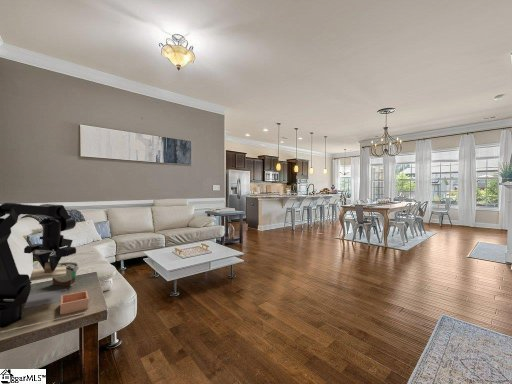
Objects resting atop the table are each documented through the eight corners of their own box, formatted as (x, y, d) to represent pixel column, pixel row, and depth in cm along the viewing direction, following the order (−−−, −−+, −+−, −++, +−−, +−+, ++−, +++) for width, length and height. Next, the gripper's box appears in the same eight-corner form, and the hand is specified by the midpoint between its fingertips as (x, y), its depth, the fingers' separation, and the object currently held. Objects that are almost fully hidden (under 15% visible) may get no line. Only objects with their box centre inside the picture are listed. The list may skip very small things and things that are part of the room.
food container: (84, 283, 114) (85, 263, 114) (73, 288, 108) (74, 267, 108) (61, 280, 115) (63, 260, 115) (49, 285, 109) (51, 264, 109)
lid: (66, 275, 96) (66, 264, 96) (29, 281, 89) (30, 268, 89) (65, 267, 105) (66, 257, 105) (32, 272, 98) (33, 260, 98)
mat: (67, 301, 96) (67, 299, 96) (23, 309, 88) (23, 308, 88) (67, 289, 106) (67, 288, 106) (27, 296, 98) (27, 295, 98)
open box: (88, 309, 91) (88, 298, 91) (60, 316, 85) (60, 304, 85) (86, 301, 97) (87, 290, 97) (60, 306, 92) (61, 295, 92)
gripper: (87, 232, 104) (85, 265, 104) (50, 228, 106) (48, 262, 106) (65, 236, 93) (62, 274, 93) (23, 233, 95) (21, 270, 95)
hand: (49, 269), depth 97 cm, fingers closed on lid, 3 cm apart
